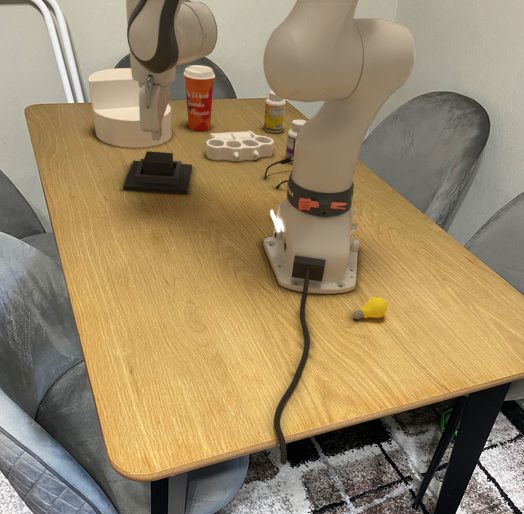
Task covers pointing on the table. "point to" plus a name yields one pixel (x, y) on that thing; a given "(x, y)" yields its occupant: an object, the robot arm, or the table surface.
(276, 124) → the supplement bottle
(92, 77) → the container
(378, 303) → the light bulb
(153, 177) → the base pad
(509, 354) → the table surface
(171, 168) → the black block
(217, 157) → the white brass knuckles
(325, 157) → the robot arm
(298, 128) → the pill bottle
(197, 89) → the coffee cup
